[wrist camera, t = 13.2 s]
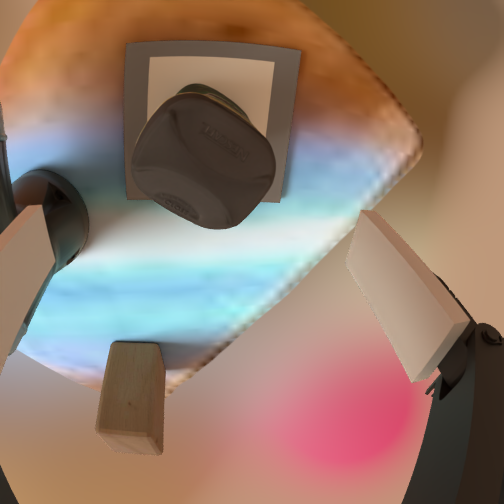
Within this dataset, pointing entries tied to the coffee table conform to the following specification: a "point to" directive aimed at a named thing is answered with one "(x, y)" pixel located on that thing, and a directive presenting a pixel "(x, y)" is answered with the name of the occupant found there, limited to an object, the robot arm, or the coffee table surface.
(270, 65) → the grey square frame
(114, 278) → the coffee table surface
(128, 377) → the wooden block
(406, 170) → the coffee table surface
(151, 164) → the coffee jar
